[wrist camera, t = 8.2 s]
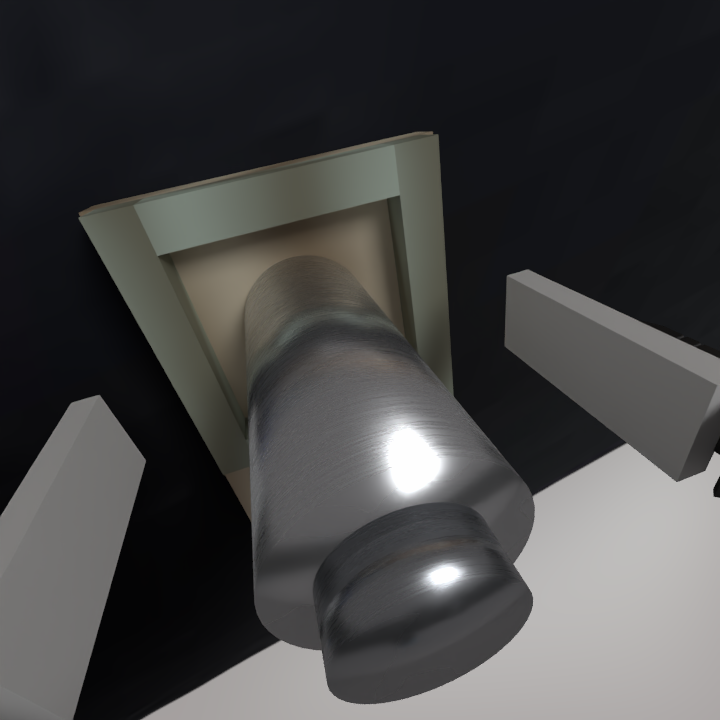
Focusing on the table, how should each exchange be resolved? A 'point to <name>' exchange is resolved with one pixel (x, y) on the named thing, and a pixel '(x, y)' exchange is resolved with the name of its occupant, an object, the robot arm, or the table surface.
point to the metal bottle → (372, 495)
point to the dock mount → (267, 247)
